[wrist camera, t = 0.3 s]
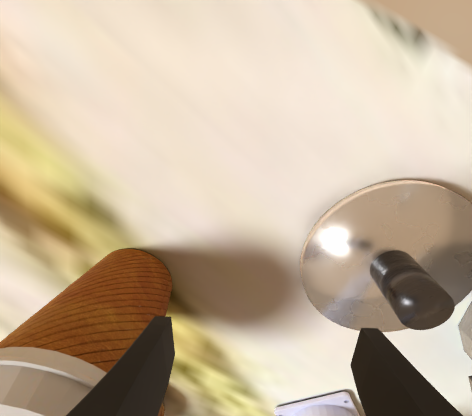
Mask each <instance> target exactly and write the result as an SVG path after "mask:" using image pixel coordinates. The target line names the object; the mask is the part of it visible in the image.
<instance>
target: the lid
mask: <svg viewBox="0 0 472 416" xmlns="http://www.w3.org/2000/svg"><path fill="white" fill-rule="evenodd" d="M300 272H301V277H302V282H303V285H304V289H305V291H306V294H307V296H308V298H309V299H310V301H311V303H312V304H313V305H314V307H315V308H316V309H317V310H318V311H319V312H320V313H321V314H322V315H324V316H325V317H327V318H328V319H329V320H331V321H333V322H335V323H337V324H339V325H341V326H344V327H347V328H350V329H354V330H359V331H360V330H361V328H378V329H379V330H380V331H381V332H391V331H398V330H403V329H408V328H411V329H415V330H426V329H431V328H434V327H437V326H439V325H441V324H442V323H444V322H445V321H447V320H448V319H449V318H450V316H451V315H452V313H453V311H454V307H455V306H456V305H457V304H458V303H459V302H461V301H462V300H463V299H464V298H465V297H466V296H467V295H468V294H469V293H470V291H471V290H472V203H471V202H470V201H468V200H467V199H465V198H464V197H462V196H461V195H459V194H457V193H455V192H453V191H451V190H449V189H447V188H444V187H442V186H440V185H436V184H433V183H429V182H424V181H417V180H399V181H389V182H384V183H380V184H375V185H372V186H369V187H367V188H364V189H361V190H359V191H357V192H355V193H353V194H350V195H349V196H347V197H346V198H344V199H342V200H341V201H339V202H338V203H336V204H335V205H334V206H333V207H331V208H330V209H329V210H328V211H327V212H326V213H325V214H324V215H323V216H322V217H321V218H320V219H319V220H318V221H317V223H316V224H315V225H314V226H313V228H312V230H311V231H310V233H309V235H308V236H307V239H306V241H305V243H304V246H303V249H302V253H301V260H300Z"/></svg>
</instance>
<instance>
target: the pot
mask: <svg viewBox="0 0 472 416" xmlns="http://www.w3.org/2000/svg"><path fill="white" fill-rule="evenodd" d="M458 326H459V330H460V335H461V339H462V344H463V348H464V351H465V352H466V353H467V355H468V356H469V357H470V358H471V359H472V302H471V304H470V306H469V307H468V309H467V311H466V313H465V315H464V316H463V318H462V320H461V322H460V324H459V325H458ZM469 381H470V386H471V390H472V376H469Z"/></svg>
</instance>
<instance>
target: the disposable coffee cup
mask: <svg viewBox="0 0 472 416" xmlns="http://www.w3.org/2000/svg"><path fill="white" fill-rule="evenodd" d="M171 291H172V279H171V275H170V273H169V272H168V270H167V268H166V267H165V266H164V264H163V263H162V262H161V261H159V260H158V259H157V258H156V257H154V256H152V255H150V254H148V253H146V252H143V251H140V250H135V249H121V250H117V251H114V252H111V253H110V254H108V255H107V256H106V257H105V258H103V259H102V260H101V261H100V262H98V263H97V264H96V265H95V266H94V267H92V268H91V269H90V270H89V271H87V272H86V273H85V274H84V275H82V276H81V277H80V278H79V279H77V280H76V281H75V282H74V283H72V284H71V285H70V286H68V287H67V288H66V289H65V290H64V291H63V292H61V293H60V294H59V295H58V296H56V297H55V298H54V299H53V300H51V301H50V302H49V303H48V304H47V305H45V306H44V307H43V308H42V309H41V310H39V311H38V312H37V313H35V314H34V315H33V316H32V317H30V318H29V319H28V320H27V321H26V322H24V323H23V324H22V325H20V326H19V327H18V328H17V329H16V330H15V331H13V332H12V333H11V334H9V335H8V336H7V337H6V338H5V339H4V340H2V341H1V342H0V416H66V415H67V414H68V413H69V412H70V411H71V410H72V409H73V408H74V407H75V406H76V405H77V404H78V403H79V402H80V401H81V400H82V399H83V398H84V397H85V396H86V395H87V394H88V393H89V392H90V391H91V390H92V389H93V387H94V386H95V385H96V384H97V383H98V382H99V381H100V380H101V379H102V378H103V377H104V376H105V375H106V374H107V373H108V371H109V370H110V369H111V368H112V367H113V366H114V365H115V364H116V362H117V361H118V360H119V359H120V358H121V357H122V355H123V354H124V353H125V352H126V351H127V350H128V348H129V347H130V346H131V345H132V344H133V342H134V341H135V340H136V339H137V338H138V336H139V335H140V334H141V333H142V331H143V330H144V329H145V328H146V326H147V325H148V324H149V322H150V321H151V320H152V319H153V318H154V317H155V316H163V317H165V316H166V312H167V308H168V303H169V299H170V295H171Z"/></svg>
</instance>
